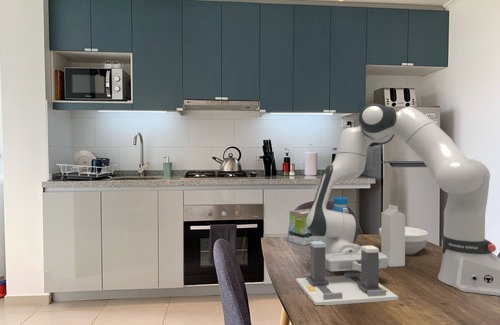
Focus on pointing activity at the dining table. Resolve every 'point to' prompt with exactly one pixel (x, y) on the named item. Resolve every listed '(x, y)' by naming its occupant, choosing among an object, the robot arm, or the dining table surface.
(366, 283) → the grey post on base
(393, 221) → the milk
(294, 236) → the tea box
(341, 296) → the twin pillar base
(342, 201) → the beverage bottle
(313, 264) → the grey capped post
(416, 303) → the dining table surface
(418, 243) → the bowl
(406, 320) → the dining table surface
